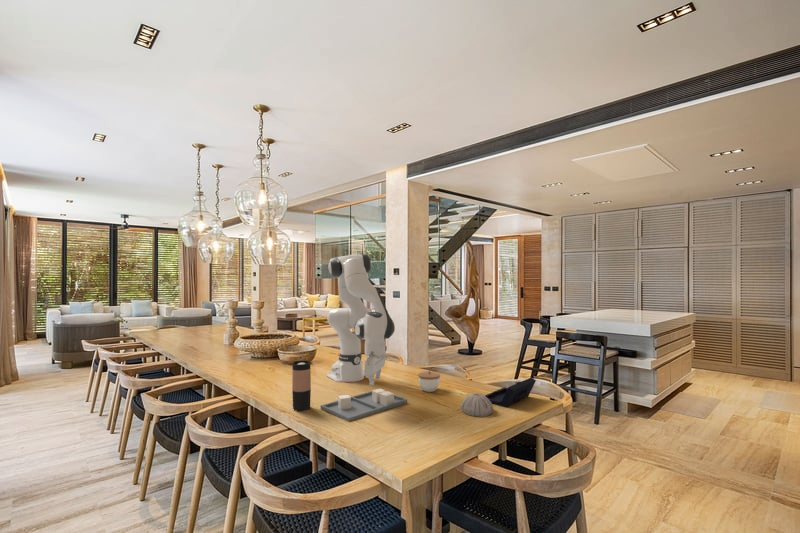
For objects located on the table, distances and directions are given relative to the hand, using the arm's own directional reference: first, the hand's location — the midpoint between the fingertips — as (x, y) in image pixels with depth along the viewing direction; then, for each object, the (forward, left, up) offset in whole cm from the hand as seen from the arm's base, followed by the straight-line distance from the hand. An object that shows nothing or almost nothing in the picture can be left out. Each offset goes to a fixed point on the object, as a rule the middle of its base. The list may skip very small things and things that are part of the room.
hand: (374, 381), depth 173 cm
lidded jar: (0, +35, -11) cm, 37 cm away
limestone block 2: (-3, +5, -10) cm, 12 cm away
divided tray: (-3, -3, -11) cm, 12 cm away
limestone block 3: (+2, +5, -10) cm, 11 cm away
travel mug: (-20, -24, -11) cm, 33 cm away
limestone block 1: (-7, -11, -10) cm, 17 cm away
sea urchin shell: (+35, +26, -11) cm, 45 cm away
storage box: (+36, +49, -12) cm, 61 cm away
